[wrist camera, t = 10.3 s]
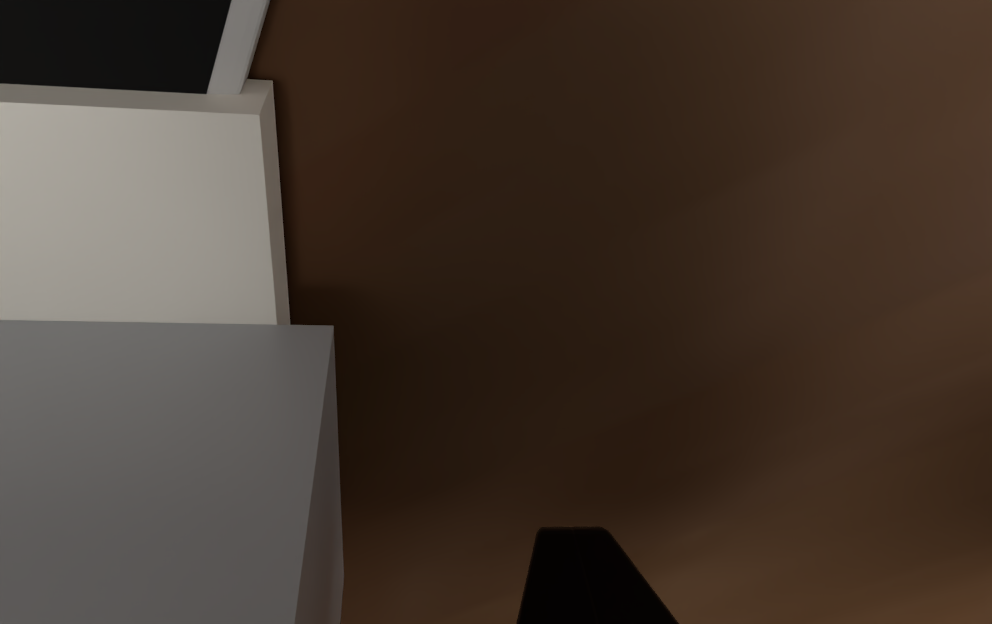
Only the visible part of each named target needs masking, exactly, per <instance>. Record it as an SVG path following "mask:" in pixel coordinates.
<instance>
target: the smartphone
mask: <svg viewBox="0 0 992 624" xmlns="http://www.w3.org/2000/svg"><path fill="white" fill-rule="evenodd" d="M269 2H270V0H0V83H1V84H20V85H39V86H58V87H77V88H96V89H116V90H135V91H154V92H173V93H192V94H223V95H237V94H240V92H241V90H242V88H243V86H244V84H245V82H246V79H247V77H248V74H249V71H250V67H251V64H252V60H253V57H254V54H255V50H256V47H257V43H258V40H259V37H260V33H261V30H262V26H263V23H264V19H265V16H266V13H267V9H268V6H269Z"/></svg>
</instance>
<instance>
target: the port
mask: <svg viewBox="0 0 992 624" xmlns="http://www.w3.org/2000/svg"><path fill="white" fill-rule="evenodd" d="M0 320H24V321H85V322H146V323H206V324H267V325H290V312H289V298H288V284H287V271H286V257H285V243H284V229H283V216H282V202H281V188H280V175H279V161H278V147H277V133H276V120H275V106H274V92H273V80H255V79H246V82H245V84H244V86H243V88H242V90H241V92H240V94H237V95H223V94H192V93H173V92H154V91H135V90H116V89H96V88H77V87H58V86H39V85H20V84H1V83H0Z"/></svg>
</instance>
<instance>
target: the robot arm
mask: <svg viewBox="0 0 992 624" xmlns="http://www.w3.org/2000/svg"><path fill="white" fill-rule="evenodd" d="M517 624H679V623H678V622H677V620H676V619H675V618H674V616H673V615H672V614H671V613H670V611H669V610H668V609H667V607H666V606H665V605H664V603H663V602H662V601H661V599H660V598H659V597H658V595H657V594H656V593H655V591H654V590H653V589H652V588H651V586H650V585H649V584H648V582H647V581H646V580H645V578H644V577H643V576H642V574H641V573H640V572H639V570H638V569H637V568H636V566H635V565H634V564H633V563H632V561H631V560H630V559H629V557H628V556H627V555H626V553H625V552H624V551H623V549H622V548H621V547H620V545H619V544H618V543H617V541H616V540H615V539H614V538H613V536H612V535H611V534H610V532H609V531H608V530H606V529H605V528H603V527H542V528H540V529H539V530H538V531H537V534H536V538H535V542H534V547H533V551H532V556H531V560H530V565H529V569H528V574H527V578H526V583H525V587H524V592H523V596H522V601H521V606H520V610H519V615H518V619H517Z"/></svg>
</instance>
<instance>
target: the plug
mask: <svg viewBox="0 0 992 624" xmlns="http://www.w3.org/2000/svg"><path fill="white" fill-rule="evenodd" d="M343 584H344V564H343V540H342V517H341V493H340V469H339V445H338V421H337V397H336V373H335V349H334V326H328V325H267V324H206V323H146V322H85V321H24V320H0V624H340V621H341V608H342V596H343Z"/></svg>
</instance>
